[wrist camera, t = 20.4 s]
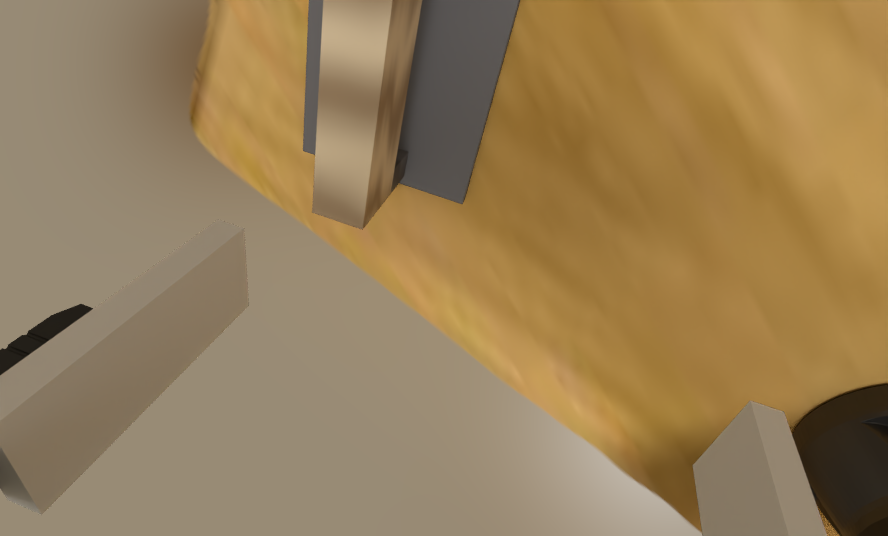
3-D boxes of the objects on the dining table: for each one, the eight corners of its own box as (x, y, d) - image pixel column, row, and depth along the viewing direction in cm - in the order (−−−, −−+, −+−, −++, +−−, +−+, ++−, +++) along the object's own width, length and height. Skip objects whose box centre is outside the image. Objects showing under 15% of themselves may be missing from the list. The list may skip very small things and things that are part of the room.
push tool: (439, 187, 37) (404, 244, 31) (327, 150, 38) (271, 198, 31) (498, -65, 27) (464, -58, 21) (345, -108, 28) (268, -114, 22)
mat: (464, 199, 38) (462, 204, 37) (307, 147, 39) (303, 151, 38) (556, -130, 26) (555, -130, 25) (323, -193, 27) (316, -196, 26)
